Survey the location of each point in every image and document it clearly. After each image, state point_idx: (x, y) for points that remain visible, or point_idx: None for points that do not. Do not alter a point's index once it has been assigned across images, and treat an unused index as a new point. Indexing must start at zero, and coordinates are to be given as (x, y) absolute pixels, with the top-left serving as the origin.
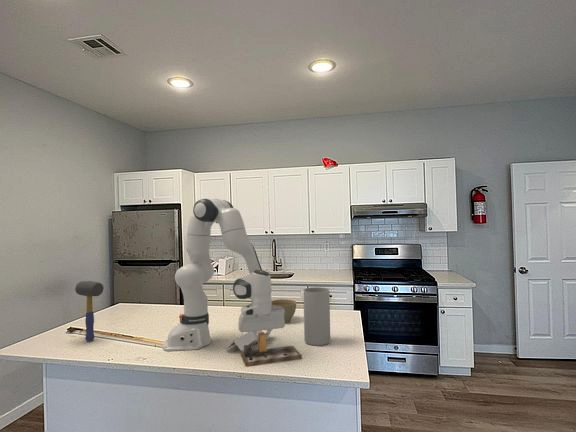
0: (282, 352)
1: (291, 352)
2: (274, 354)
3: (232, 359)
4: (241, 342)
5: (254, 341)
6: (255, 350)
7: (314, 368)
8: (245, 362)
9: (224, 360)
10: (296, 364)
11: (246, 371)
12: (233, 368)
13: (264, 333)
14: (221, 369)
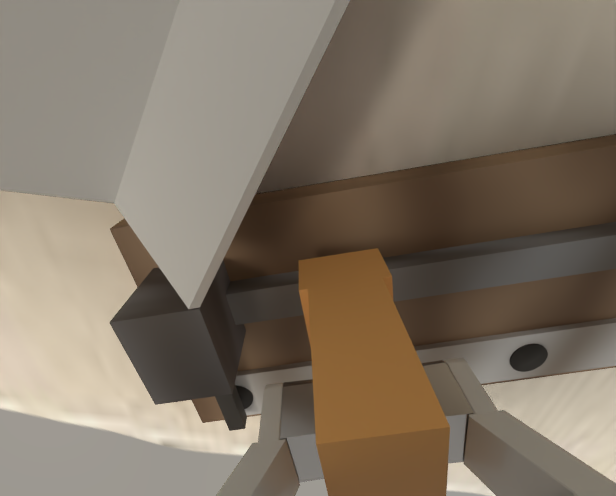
0: (527, 296)
1: (602, 307)
2: (442, 325)
3: (72, 283)
4: (15, 63)
5: (247, 119)
6: (272, 208)
7: (601, 450)
8: (201, 417)
9: (6, 292)
10: (535, 405)
11: (223, 444)
12: (131, 409)
13: (442, 488)
14: (54, 412)
